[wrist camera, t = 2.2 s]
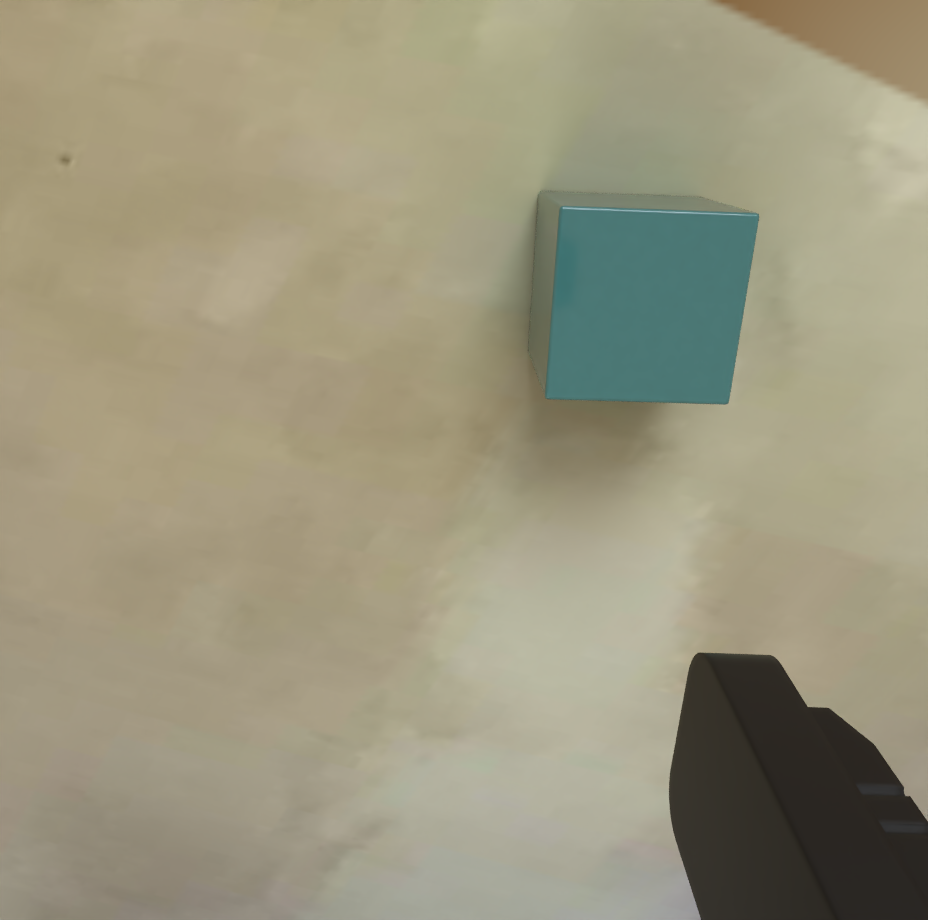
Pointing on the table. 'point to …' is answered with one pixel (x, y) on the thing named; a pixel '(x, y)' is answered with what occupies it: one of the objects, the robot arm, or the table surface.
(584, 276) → the block
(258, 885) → the table surface
